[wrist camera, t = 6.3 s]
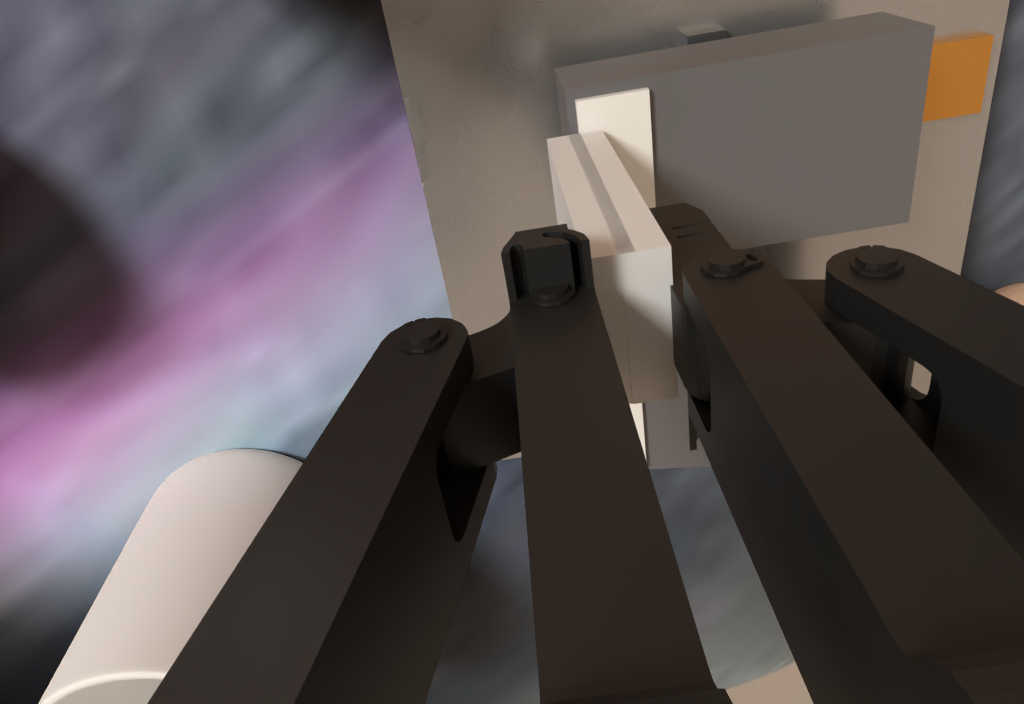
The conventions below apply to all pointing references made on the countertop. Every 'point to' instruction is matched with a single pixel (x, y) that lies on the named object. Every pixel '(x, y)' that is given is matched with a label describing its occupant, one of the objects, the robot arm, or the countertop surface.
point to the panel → (632, 30)
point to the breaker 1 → (667, 432)
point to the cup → (169, 575)
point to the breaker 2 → (767, 125)
